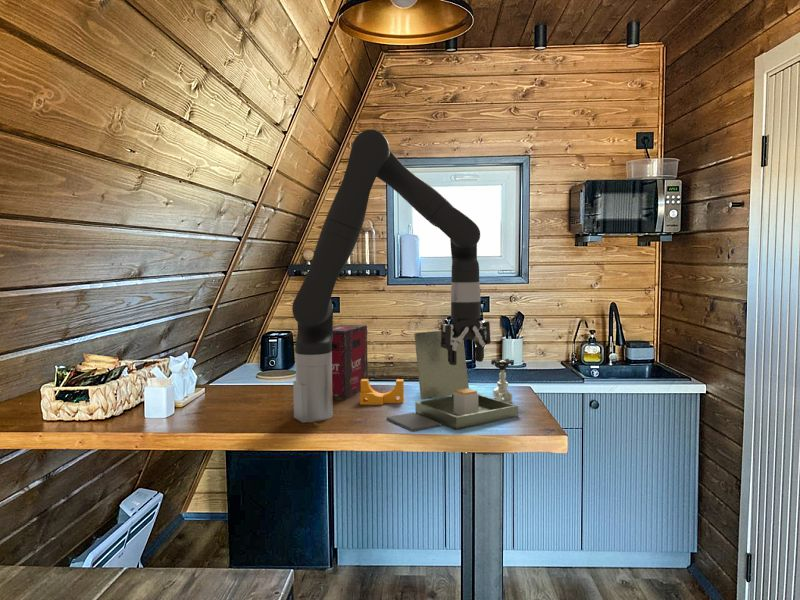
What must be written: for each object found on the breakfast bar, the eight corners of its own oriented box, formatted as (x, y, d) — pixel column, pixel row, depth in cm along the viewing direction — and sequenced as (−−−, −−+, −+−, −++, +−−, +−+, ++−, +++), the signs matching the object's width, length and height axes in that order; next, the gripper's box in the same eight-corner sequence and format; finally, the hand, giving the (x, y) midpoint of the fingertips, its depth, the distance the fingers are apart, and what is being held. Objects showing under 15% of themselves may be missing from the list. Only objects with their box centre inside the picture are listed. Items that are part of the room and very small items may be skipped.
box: (342, 386, 180) (341, 324, 178) (367, 388, 177) (367, 325, 176) (318, 397, 164) (316, 330, 163) (345, 400, 161) (344, 331, 160)
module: (464, 416, 140) (464, 393, 140) (453, 412, 144) (453, 390, 144) (478, 414, 143) (478, 391, 142) (467, 410, 146) (467, 387, 146)
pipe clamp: (360, 404, 156) (359, 382, 156) (362, 401, 160) (361, 379, 160) (402, 405, 155) (402, 382, 155) (403, 401, 159) (403, 379, 159)
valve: (495, 406, 153) (495, 362, 152) (487, 400, 159) (487, 358, 159) (518, 405, 154) (518, 362, 153) (509, 399, 160) (509, 358, 160)
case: (456, 430, 131) (456, 383, 130) (407, 410, 149) (407, 369, 149) (518, 417, 141) (518, 374, 140) (465, 400, 159) (465, 362, 159)
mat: (412, 431, 130) (412, 428, 130) (386, 419, 140) (386, 417, 140) (440, 425, 134) (440, 423, 134) (413, 414, 144) (413, 412, 144)
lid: (415, 333, 148) (412, 333, 149) (422, 399, 146) (418, 399, 148) (462, 329, 156) (458, 329, 157) (469, 392, 154) (465, 392, 156)
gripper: (452, 302, 135) (452, 368, 136) (496, 299, 142) (497, 362, 143) (434, 300, 141) (435, 364, 142) (477, 298, 148) (478, 358, 149)
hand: (466, 363), depth 143 cm, fingers open, 8 cm apart
